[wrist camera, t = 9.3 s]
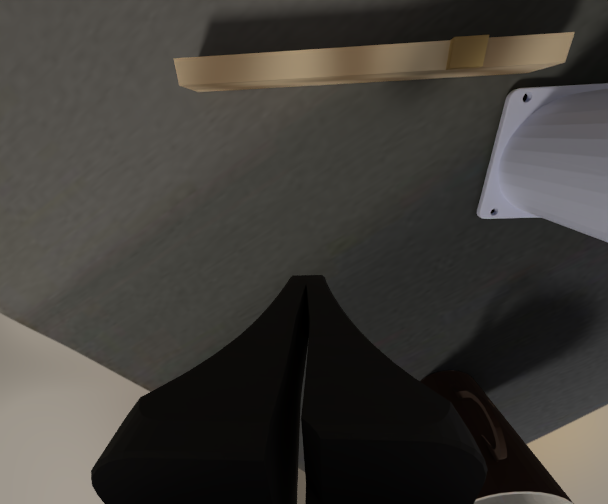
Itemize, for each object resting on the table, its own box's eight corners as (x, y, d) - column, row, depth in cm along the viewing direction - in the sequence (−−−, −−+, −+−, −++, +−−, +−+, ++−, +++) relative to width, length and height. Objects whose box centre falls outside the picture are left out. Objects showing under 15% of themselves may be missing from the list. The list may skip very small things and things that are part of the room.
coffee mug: (464, 421, 29) (531, 552, 20) (392, 409, 29) (426, 536, 20) (521, 349, 24) (644, 480, 15) (434, 333, 24) (507, 457, 15)
